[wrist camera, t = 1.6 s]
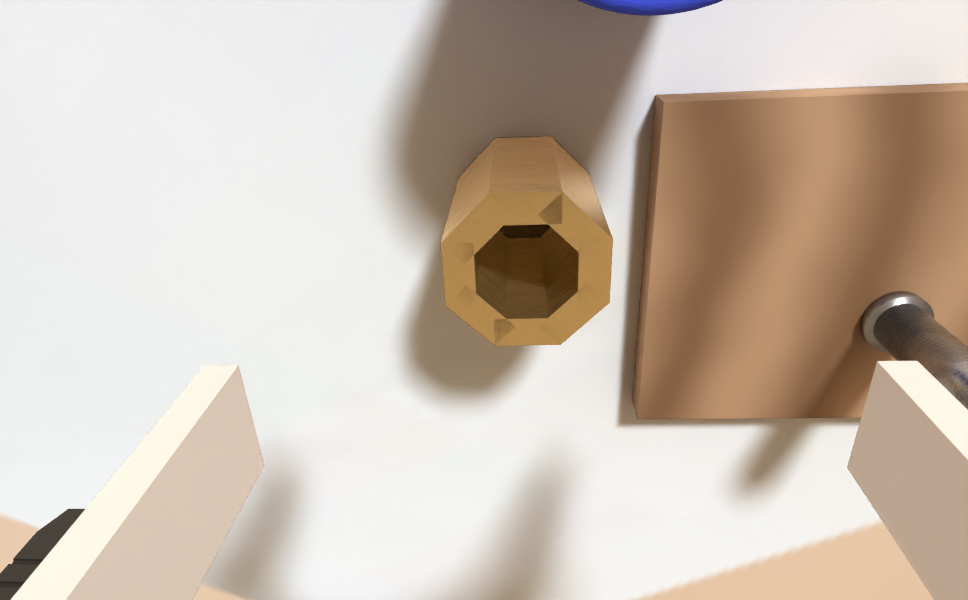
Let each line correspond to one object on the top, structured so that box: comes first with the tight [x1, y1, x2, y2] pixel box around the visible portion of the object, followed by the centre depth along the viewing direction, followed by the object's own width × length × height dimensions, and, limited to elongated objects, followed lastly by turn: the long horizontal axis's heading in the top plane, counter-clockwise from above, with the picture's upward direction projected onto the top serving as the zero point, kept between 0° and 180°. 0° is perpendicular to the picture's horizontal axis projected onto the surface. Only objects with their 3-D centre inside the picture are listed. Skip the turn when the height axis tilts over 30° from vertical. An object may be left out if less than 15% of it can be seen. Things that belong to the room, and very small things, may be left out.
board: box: [632, 83, 968, 419], centre depth 26 cm, size 16×14×2 cm
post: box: [859, 291, 968, 410], centre depth 22 cm, size 3×3×8 cm
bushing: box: [440, 136, 613, 346], centre depth 23 cm, size 5×5×7 cm
